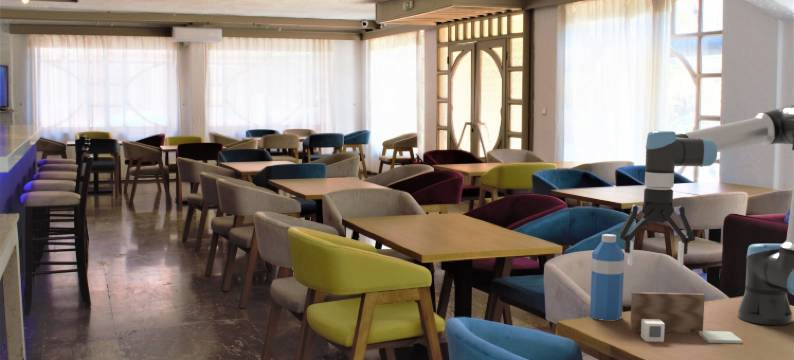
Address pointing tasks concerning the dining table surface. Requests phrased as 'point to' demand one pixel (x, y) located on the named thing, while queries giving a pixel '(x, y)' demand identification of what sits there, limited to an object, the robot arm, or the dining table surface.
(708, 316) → the dining table surface
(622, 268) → the water bottle
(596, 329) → the dining table surface
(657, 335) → the white cube
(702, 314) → the walnut screen
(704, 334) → the coaster
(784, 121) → the robot arm
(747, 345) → the dining table surface
